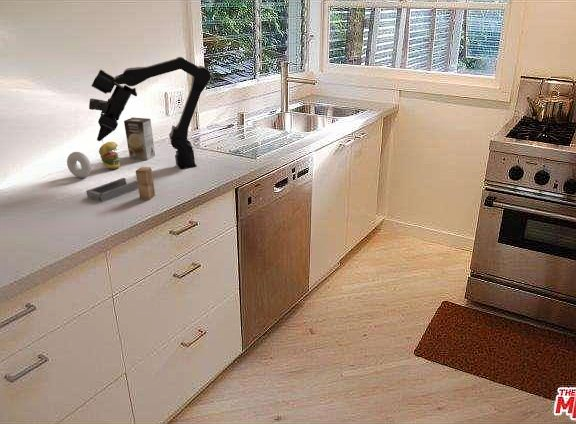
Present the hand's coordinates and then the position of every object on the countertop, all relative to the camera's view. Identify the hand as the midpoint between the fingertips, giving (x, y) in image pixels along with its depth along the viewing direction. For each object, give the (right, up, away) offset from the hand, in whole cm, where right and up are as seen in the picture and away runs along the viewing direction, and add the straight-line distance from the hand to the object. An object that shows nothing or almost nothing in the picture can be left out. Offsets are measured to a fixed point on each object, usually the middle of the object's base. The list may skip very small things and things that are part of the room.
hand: (99, 137), depth 184 cm
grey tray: (+10, -21, -12) cm, 26 cm away
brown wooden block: (+23, -23, -17) cm, 36 cm away
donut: (-8, -15, +4) cm, 17 cm away
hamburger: (0, -10, +13) cm, 17 cm away
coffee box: (+9, -5, +26) cm, 28 cm away
